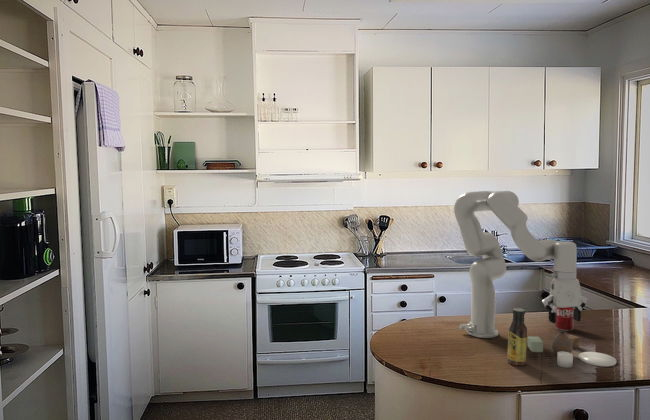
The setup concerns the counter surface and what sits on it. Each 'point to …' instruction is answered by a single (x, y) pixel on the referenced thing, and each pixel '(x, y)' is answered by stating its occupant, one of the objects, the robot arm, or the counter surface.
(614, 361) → the disc
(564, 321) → the soda can
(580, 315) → the robot arm
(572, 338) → the walnut block
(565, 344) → the vase
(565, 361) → the plastic tub
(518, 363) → the sauce bottle
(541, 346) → the sage block
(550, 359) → the counter surface
